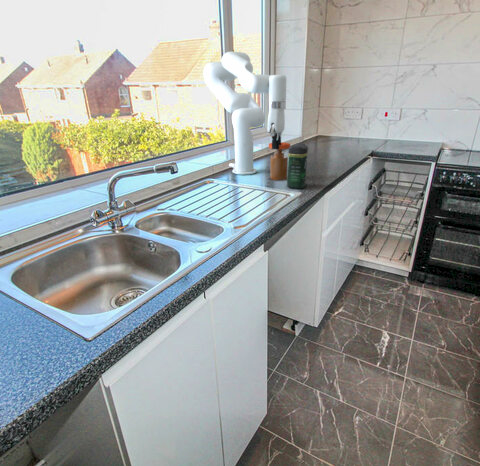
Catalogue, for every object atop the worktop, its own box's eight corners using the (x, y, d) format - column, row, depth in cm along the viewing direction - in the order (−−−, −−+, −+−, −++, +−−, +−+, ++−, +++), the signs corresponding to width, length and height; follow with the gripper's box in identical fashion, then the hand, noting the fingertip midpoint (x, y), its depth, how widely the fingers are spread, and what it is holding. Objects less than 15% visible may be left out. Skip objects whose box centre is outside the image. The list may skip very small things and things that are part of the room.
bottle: (267, 179, 159) (267, 145, 153) (273, 175, 166) (274, 143, 160) (283, 181, 156) (284, 146, 149) (289, 177, 163) (290, 144, 156)
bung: (265, 148, 153) (265, 144, 152) (273, 145, 161) (273, 142, 160) (285, 149, 149) (285, 146, 148) (292, 146, 157) (292, 143, 156)
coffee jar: (302, 190, 142) (305, 146, 135) (285, 188, 145) (286, 145, 137) (307, 184, 150) (309, 142, 143) (290, 183, 153) (292, 142, 145)
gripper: (275, 105, 152) (274, 145, 160) (262, 106, 139) (262, 150, 146) (291, 105, 149) (289, 146, 157) (278, 106, 136) (278, 151, 144)
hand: (276, 148), depth 151 cm, fingers closed on bung, 2 cm apart
